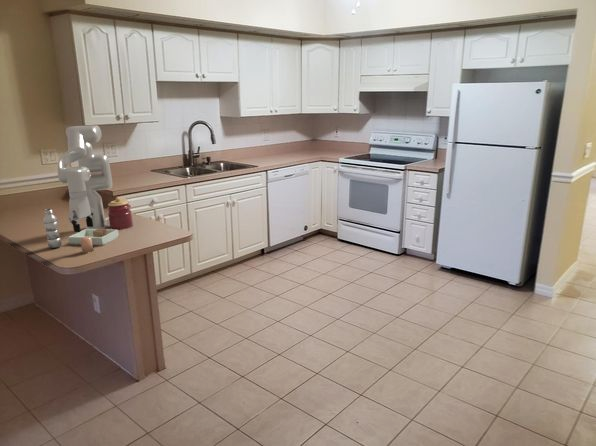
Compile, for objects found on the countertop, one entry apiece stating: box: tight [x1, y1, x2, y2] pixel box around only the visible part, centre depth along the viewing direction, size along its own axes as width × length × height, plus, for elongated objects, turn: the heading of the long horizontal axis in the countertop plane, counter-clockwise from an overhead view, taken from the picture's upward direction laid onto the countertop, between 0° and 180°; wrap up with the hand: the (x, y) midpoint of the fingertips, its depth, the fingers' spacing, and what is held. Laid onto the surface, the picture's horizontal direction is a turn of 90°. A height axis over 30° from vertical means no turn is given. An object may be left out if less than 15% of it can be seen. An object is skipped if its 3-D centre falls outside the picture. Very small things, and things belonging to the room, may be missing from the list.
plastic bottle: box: [42, 208, 63, 249], centre depth 236 cm, size 6×7×20 cm
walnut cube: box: [93, 228, 108, 237], centre depth 246 cm, size 5×5×5 cm
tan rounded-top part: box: [80, 237, 94, 254], centre depth 229 cm, size 5×5×7 cm
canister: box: [106, 196, 134, 230], centre depth 269 cm, size 13×13×18 cm
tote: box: [67, 228, 120, 246], centre depth 247 cm, size 15×20×4 cm
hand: (84, 229), depth 226 cm, fingers open, 9 cm apart
